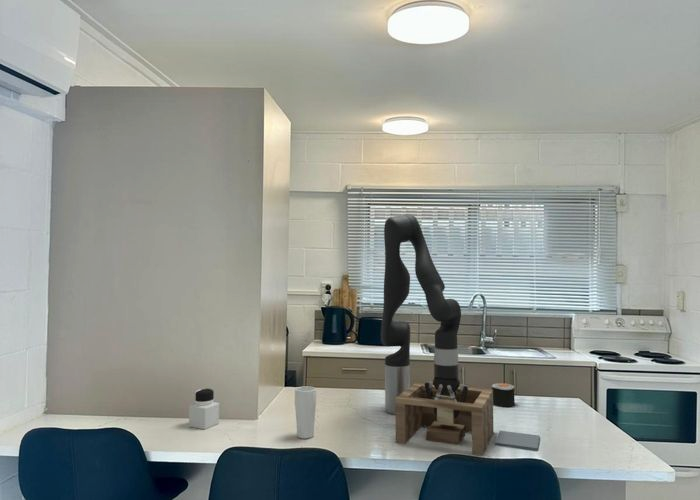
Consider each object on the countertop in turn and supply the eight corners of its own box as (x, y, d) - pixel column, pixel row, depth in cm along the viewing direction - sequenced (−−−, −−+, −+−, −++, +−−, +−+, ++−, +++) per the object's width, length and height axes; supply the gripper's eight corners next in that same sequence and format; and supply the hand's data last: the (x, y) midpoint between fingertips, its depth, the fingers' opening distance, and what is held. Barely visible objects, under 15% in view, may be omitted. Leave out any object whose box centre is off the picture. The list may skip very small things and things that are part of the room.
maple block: (440, 417, 160) (440, 395, 160) (456, 419, 158) (456, 397, 158) (437, 421, 155) (436, 399, 155) (452, 423, 153) (452, 401, 153)
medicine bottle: (219, 423, 170) (219, 388, 170) (205, 429, 163) (205, 393, 164) (203, 421, 173) (203, 386, 173) (188, 427, 166) (188, 390, 167)
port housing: (415, 422, 171) (415, 382, 172) (493, 432, 161) (492, 390, 161) (395, 442, 151) (395, 398, 152) (482, 455, 141) (482, 407, 141)
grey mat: (499, 432, 160) (499, 430, 160) (539, 438, 155) (539, 435, 155) (494, 445, 149) (494, 442, 149) (537, 451, 144) (537, 448, 144)
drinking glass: (294, 433, 160) (295, 386, 160) (315, 432, 161) (316, 385, 161) (294, 440, 153) (294, 391, 154) (316, 439, 154) (316, 391, 154)
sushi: (496, 400, 199) (496, 380, 199) (517, 404, 194) (517, 383, 194) (489, 405, 192) (488, 384, 193) (510, 408, 187) (510, 387, 188)
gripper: (471, 361, 157) (471, 415, 157) (426, 358, 163) (427, 410, 163) (466, 366, 151) (467, 422, 150) (421, 362, 156) (421, 417, 156)
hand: (446, 416), depth 156 cm, fingers closed on maple block, 5 cm apart
